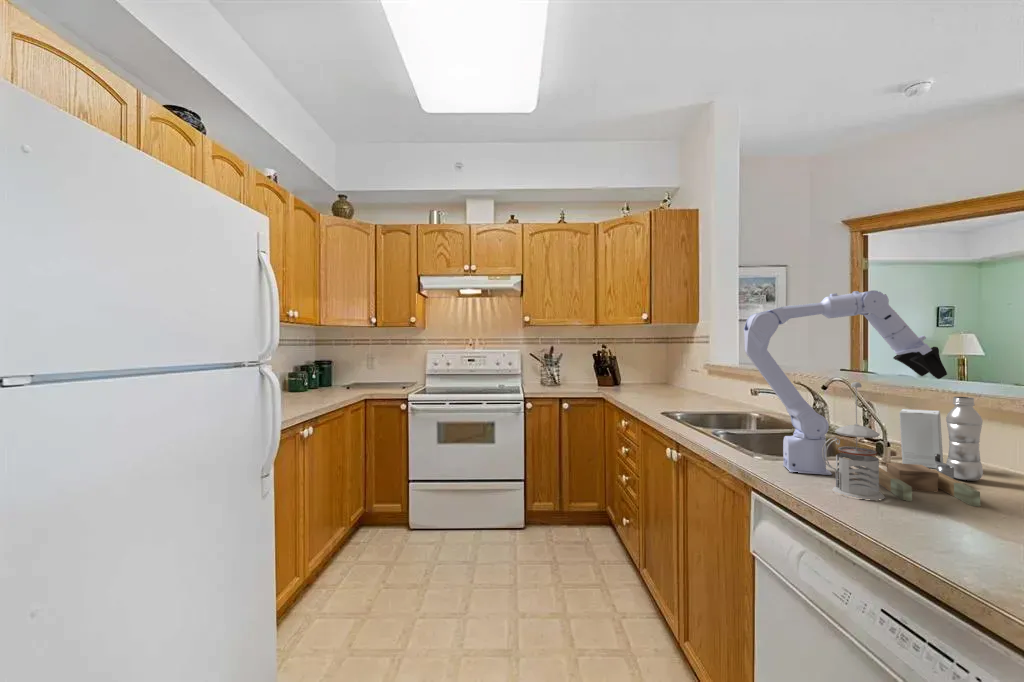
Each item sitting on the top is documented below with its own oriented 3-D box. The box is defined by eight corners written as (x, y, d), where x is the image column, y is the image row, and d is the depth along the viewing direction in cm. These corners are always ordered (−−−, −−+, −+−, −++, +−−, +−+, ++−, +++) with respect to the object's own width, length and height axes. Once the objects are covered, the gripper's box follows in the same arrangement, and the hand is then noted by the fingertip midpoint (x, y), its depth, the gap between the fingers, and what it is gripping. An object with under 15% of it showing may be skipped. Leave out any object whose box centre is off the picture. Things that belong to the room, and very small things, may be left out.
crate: (899, 489, 108) (899, 470, 108) (886, 480, 115) (886, 462, 115) (938, 492, 106) (938, 472, 106) (922, 483, 112) (922, 464, 112)
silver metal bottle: (966, 475, 117) (965, 395, 117) (991, 484, 111) (990, 399, 111) (938, 475, 118) (937, 395, 118) (961, 483, 111) (960, 399, 111)
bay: (903, 500, 100) (903, 486, 100) (868, 476, 118) (868, 464, 118) (980, 506, 96) (980, 491, 96) (932, 480, 114) (932, 468, 114)
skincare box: (943, 465, 127) (942, 410, 127) (941, 470, 122) (940, 413, 122) (903, 460, 133) (902, 407, 133) (899, 464, 129) (899, 410, 129)
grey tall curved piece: (895, 502, 99) (894, 384, 99) (834, 499, 102) (833, 383, 102) (870, 487, 109) (869, 380, 109) (814, 485, 111) (813, 379, 111)
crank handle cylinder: (941, 484, 110) (940, 458, 110) (929, 478, 115) (929, 453, 115) (956, 486, 110) (956, 459, 110) (944, 479, 114) (944, 454, 114)
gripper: (925, 320, 110) (968, 367, 108) (896, 322, 124) (933, 363, 122) (896, 338, 112) (937, 385, 110) (870, 338, 126) (907, 379, 123)
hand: (933, 375), depth 116 cm, fingers open, 7 cm apart
